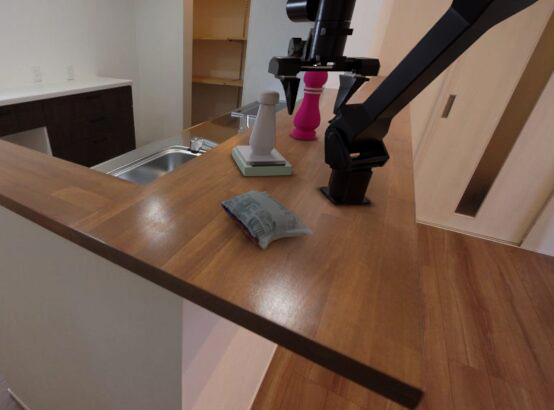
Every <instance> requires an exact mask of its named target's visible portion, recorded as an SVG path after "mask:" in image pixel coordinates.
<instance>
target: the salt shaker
mask: <svg viewBox="0 0 554 410" xmlns="http://www.w3.org/2000/svg"><path fill="white" fill-rule="evenodd" d="M280 98H281V97H280V92H279V91H275V90H271V89H270V90H268V89H267V90H261V91H260V92H259V93H258V96H257V103H258V104H259V107H258V111H257V114H256V117H255V120H254V124H253V127H252V131H251V133H250V138H249V141H248V145H249V146H250V147H251V149H252V152H253V154H256V155H260V156H264V155H269V154H270V153H271V151H272V150H273V149H274V148H275V147H276V145H277V121H276V119H277V113H276V111H277V110H276V109H277V108H276V106H277V104H279V102H280Z"/></svg>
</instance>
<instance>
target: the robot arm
mask: <svg viewBox="0 0 554 410" xmlns="http://www.w3.org/2000/svg"><path fill="white" fill-rule="evenodd" d="M537 2H539V0H452V1H451V3H450V6H449V7H448V8H447V10H446V11H445V12H444V13H442V16H440V18H439V19H438V20H437V21H436V22H435V23H434V24H433V26H431V27H430V29H429V30H428V31H426V33H425V34H424V35H423V36H422V37H421V38H420V40H419V41H418V42H417V43H416V44H415V45H414V46H413V47H412V48H411V50H410V51H409V52H408V53H407V54H406V55H405V56H404V57H403V58H402V60H401V61H400V62H399V63H398V64H397V65H396V66H395V67H394V68H393V69H392V70H391V72H390V73H389V74H388V75H387V76H386V77H385V78H384V79H383V81H381V83H379V85H378V86H377V87H376V88H375V89H374V90H373V92H372V93H371V94H369V96H368V97H367V98H366V99H365V100H364V101H363V102H358V103H357V102H356V103H348V102H349V101H350V100H351V98H352V97H353V95H355V93H357V91H359V89H360V88H361V87H362V86H363V85H364V84H365V83H366V82H370V81H371V78H370V77H379V74H380V70H381V67H382V65H381V61H380V59H379V58H375V57H365V56H348V55H344V53H345V48H346V44H347V42H348V41H347V40H348V36H353V33H354V29H355V28H352V27H351V24H352V20H353V15H354V12H355V8H356V7H355V6H356V3H357V0H286V4H285V13H286V16H287V18H288V19H289V20H290V22H293V23H298V24H299V23H314V26H313V28H312V27H310V30H309V32H308V37H307V39H306V40H303V38H302V37H297V36H296V37H291V38H290V39H289V41H288V42H289V43H288V45H287V46H288V47H287V56H284V55H283V56H281V55H279V56H277V55H275V56H274V55H273V56H272V58H271V59H270V60H269V62H268V69H267V73H268V74H271V75H273V77H274V78H275V79H277V80H278V81H280V83H281V85H282V88H283V92H284V97H285V103H286V110H287V114H288V115H289V116H293V113H294V111H295V108H296V103H297V98H298V93H299V89H300V84H301V78H300V77H297V76H298V74H300V73H301V72H302V73H303V72H304V73H305V72H328V73H329V72H330V73H332V72H333V73H341V72H342V73H343V74H338V79H339V87H338V90H337V94H336V98H335V101H334V105H333V110H332V111H333V112H332V114H333V115H334V116H333V118H331V119H329V120H327V123H328V124H329V125H328V126H327V127H326V129H325V132H324V139H323V140H324V141H323V143H324V146H323V147H324V149H323V150H324V151H323V152H324V164H325V165H328V167H329V168H330V169H331V171H330V175H329V179H328V183H327V185H326V186H322V185H321V186H320V187H319V190H320V191H321V193H323V194H324V195H325V196H326V197H327V198H328V199H329V200H330V201H331V202H332V203H333V204H334V205H335V206H356V205H357V206H358V205H359V206H361V205H371V203H372V200H371V199H370V198H368V196H367V197H366V194H367V191H368V188H369V185H370V182H371V179H372V177H373V173H374V171H373V169H375V168H383V167H385V165H386V164H387V163H388V162H389V160H390V158H391V156H390V153H389V152H388V149H387V147H386V145H385V142H384V140H383V139H384V138H385V137H386V136H387V135H388V133H389V131H390V127H391V123H392V120H393V119H394V118H395V117H396V116H397V115H398V114H399V113H400V112H401V111H403V109H404V108H406V107H407V106H408V105H409V104H410V103H412V102H413V101H414V99H415V98H416V97H418V95H419V94H421V93H422V92H423V91H424V90H425V89H426V88H427V87H428V86H430V85H431V83H433V82H434V81H435V80H436V79H437V78H438V77H439V76H440V75H441V74H442V73H443V72H445V71H446V70H447V69H448V68H449V67H450V66H451V65H453V63H454V62H455V61H457V60H458V58H460V57H461V56H462V55H463V54H464V53H466V51H467V50H469V48H470V47H472V45H474V44H475V43H476V42H477V41H479V39H480V38H481V37H482V36H483V35H485V34H486V33H487V32H488V31H490V30H491V29H492V28H493V27H495V26H496V25H499V24H500V23H502V22H505V21H506V20H508V19H509V18H511V17H513V16H515V15H517V14H518V13H520V12H522V11H524V10H526V9H527V8H529V7H531V6H533V5H534V4H536V3H537ZM319 63H320V65H319ZM328 63H330V64H328ZM354 154H355V155H354Z"/></svg>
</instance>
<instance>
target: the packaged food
mask: <svg viewBox="0 0 554 410" xmlns="http://www.w3.org/2000/svg"><path fill="white" fill-rule="evenodd" d="M220 205H221V207H222V209H223V210H224V211H225V213H226V214H227V216H228V217H229V218H230V219H232V221H233V222H235V223H236V224H237V225H238V226H239V227H240V228H241V230H242V231H243V232H244V233H245V234H246V235H247V236H248V238H249V239H250V240H251V241H252V242H253V243H254V244H255V245H256V246H258V245H259V247H260V248H262V250H266V249H267V248H268V246H269V244H270V243H272V242H274V241H277V240H281V239H285V238H292V237H302V236H306V237H313V236H314V232H313V230H312V229H311V228H310V226H309V224H307V222H303V221H301V219H300V217H299V215H298V214H297V213H295V212H294V211H292V210H291V209H289V208H288V207H287V206H285V205H284V204H283V203H282V202H280V201H279V200H277V199H276V198H274V197H273V195H270V194H269V193H267V191H257V190H256V189H253V190H250V191H246V192H245V193H241V194H238V195H236V196H233V197H231V198H229V199H227V200H223V201H221V202H220Z"/></svg>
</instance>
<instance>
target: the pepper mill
mask: <svg viewBox="0 0 554 410" xmlns="http://www.w3.org/2000/svg"><path fill="white" fill-rule="evenodd" d="M319 65H320V63H319ZM302 79H303V83H304V86H303V90H302V92H303V97H302V101H301V103H300V106H299V108H298V109H297V111H296V112H295V115H294V117H293V121H292V124H293V126H294V128H293V130H292V138H294V139H297V140H301V141H311V140H315V139H316V135H317V131H316V130H317V129H318V128H319V127H320V125H321V120H322V117H321V112H320V98H321V94H323V93H324V92H323V90H324V89H325V88H324V86H325V84H326V83H327V82H328V79H329V72H304V74H303V78H302Z"/></svg>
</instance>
